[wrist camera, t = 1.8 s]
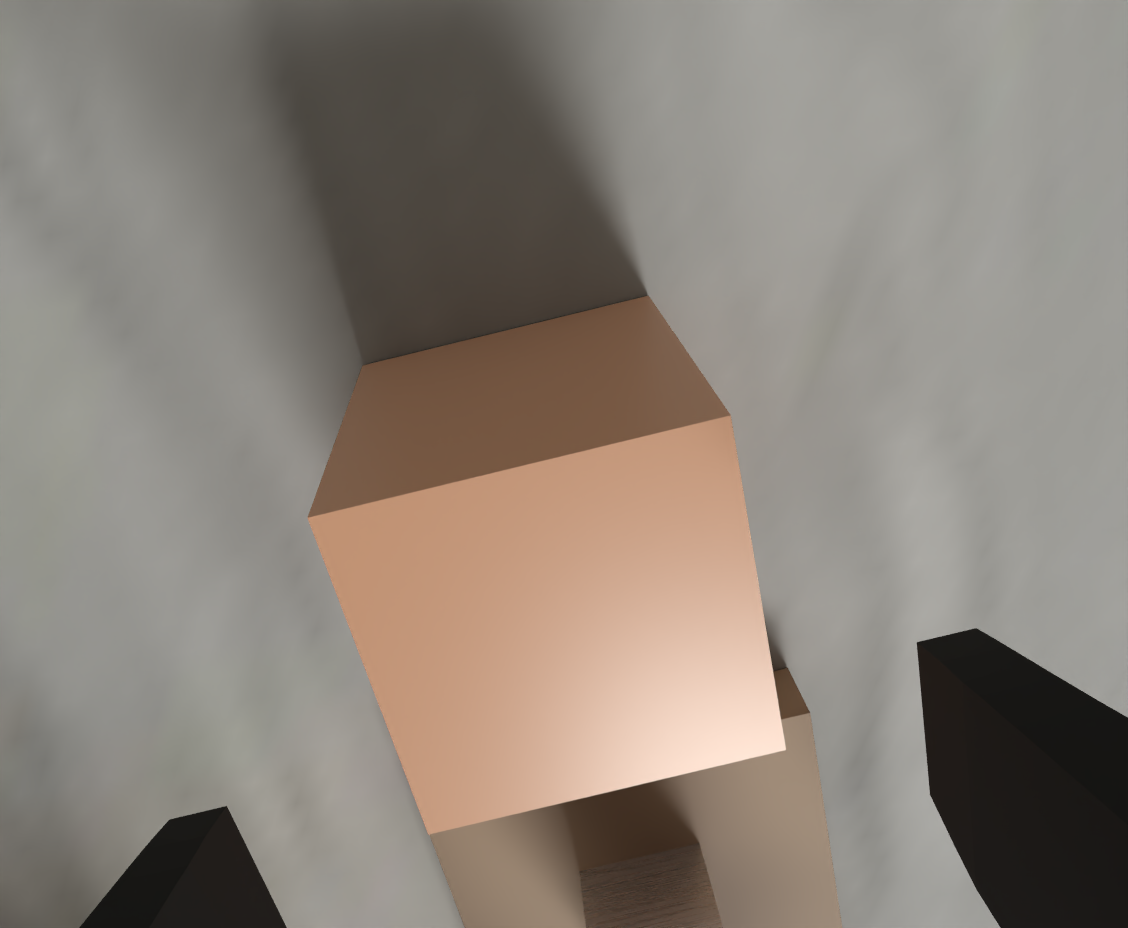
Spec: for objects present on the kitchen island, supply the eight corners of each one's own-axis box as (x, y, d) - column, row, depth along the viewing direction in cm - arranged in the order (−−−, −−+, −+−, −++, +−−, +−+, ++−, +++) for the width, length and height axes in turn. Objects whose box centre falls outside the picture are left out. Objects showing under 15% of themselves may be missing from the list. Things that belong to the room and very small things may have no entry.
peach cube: (442, 607, 19) (428, 834, 14) (362, 365, 17) (307, 518, 11) (696, 546, 19) (786, 750, 14) (648, 295, 17) (730, 415, 11)
